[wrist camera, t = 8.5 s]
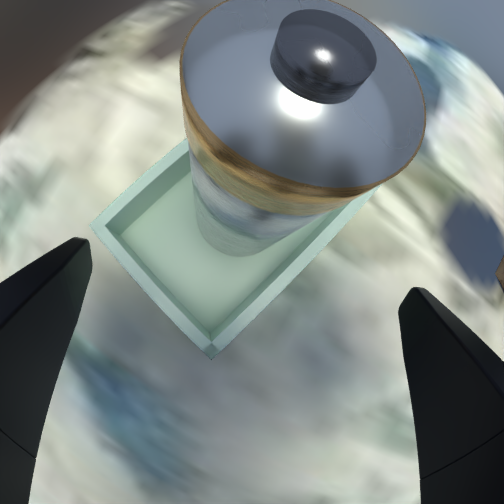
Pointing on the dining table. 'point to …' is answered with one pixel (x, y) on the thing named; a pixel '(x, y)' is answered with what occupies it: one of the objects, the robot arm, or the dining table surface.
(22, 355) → the robot arm
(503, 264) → the bin
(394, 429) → the dining table surface
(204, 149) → the cell
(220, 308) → the trough
